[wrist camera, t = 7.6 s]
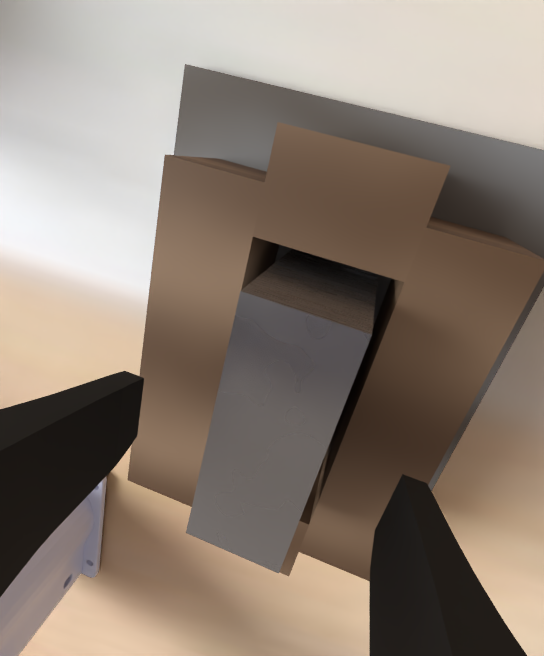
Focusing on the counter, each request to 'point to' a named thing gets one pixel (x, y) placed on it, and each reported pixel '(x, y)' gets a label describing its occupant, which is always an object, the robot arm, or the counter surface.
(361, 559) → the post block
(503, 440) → the counter surface
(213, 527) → the gray rectangular block
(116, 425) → the robot arm
